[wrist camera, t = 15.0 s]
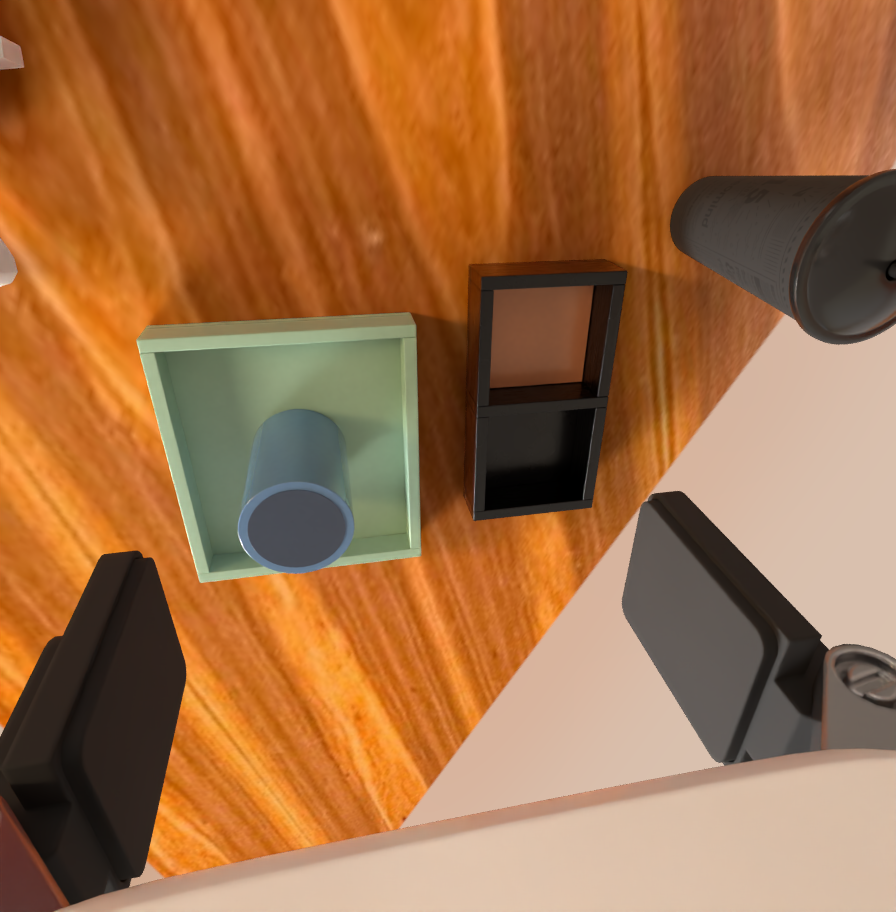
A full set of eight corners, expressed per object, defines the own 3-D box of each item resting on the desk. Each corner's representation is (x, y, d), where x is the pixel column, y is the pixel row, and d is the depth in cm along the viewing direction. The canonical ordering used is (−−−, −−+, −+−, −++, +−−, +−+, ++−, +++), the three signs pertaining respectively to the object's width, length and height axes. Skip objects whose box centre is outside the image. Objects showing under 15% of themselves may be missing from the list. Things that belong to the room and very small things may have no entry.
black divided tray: (468, 264, 37) (481, 276, 34) (605, 258, 39) (628, 270, 36) (463, 495, 46) (473, 521, 43) (575, 484, 47) (591, 507, 44)
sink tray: (146, 325, 35) (135, 339, 33) (410, 311, 38) (416, 324, 36) (205, 559, 44) (199, 583, 42) (416, 535, 47) (421, 556, 45)
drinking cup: (781, 207, 39) (1140, 283, 22) (693, 300, 41) (960, 434, 24) (718, 120, 36) (1086, 132, 19) (626, 225, 38) (882, 322, 21)
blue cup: (244, 412, 38) (228, 488, 31) (342, 405, 40) (350, 476, 32) (259, 493, 42) (247, 580, 34) (350, 484, 43) (358, 567, 35)
